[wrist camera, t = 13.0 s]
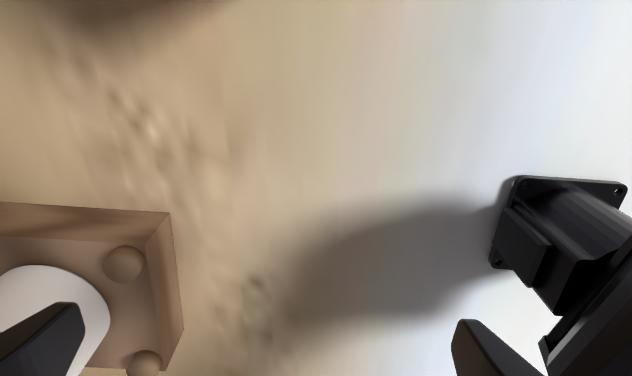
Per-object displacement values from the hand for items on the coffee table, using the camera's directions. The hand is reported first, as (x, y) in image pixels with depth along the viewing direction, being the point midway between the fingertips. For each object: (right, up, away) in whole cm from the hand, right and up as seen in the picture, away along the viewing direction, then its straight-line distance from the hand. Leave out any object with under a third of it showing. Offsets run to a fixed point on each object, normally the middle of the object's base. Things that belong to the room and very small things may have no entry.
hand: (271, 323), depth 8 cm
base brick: (-14, -2, +16) cm, 22 cm away
